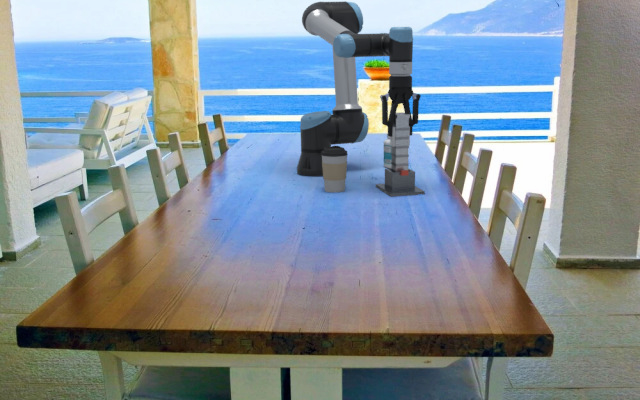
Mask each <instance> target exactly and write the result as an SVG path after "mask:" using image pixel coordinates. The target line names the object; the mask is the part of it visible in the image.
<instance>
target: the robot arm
mask: <svg viewBox="0 0 640 400" xmlns="http://www.w3.org/2000/svg"><path fill="white" fill-rule="evenodd" d="M361 9H362V8H360V6H359V5H358V4H357V3H356V2H352V1H317V2H313V3H311V4H310V5H309V6H307V7H306V9H305V10H304V11H303V13H302V17H301V23H302V26H303V28H304V30H305V31H306V32H307V33H309V34H310V35H313V36H315V37H316V36H318V37H320V38H321V39H322V40H323V41H325V42H327V43H328V44H330V45H331V46H332V61H333V75H334V76H333V77H334V79H333V80H334V91H335V106H334V107H333V108H332V112H330V111H327V110H320V111H313V112H308V113H306V114H304V115H302V116H301V117H300V125H299V128H300V149H301V150H300V157H299V159H298V163H297V165H296V174H298V175H300V176H309V177H319V176H320V177H323V168H322V155H321V154H322V153H321V152H322V151H324V148H327V147H332V146H335V145H344V144H345V145H346V144H355V143H360V142H361V143H362V142H363V141H364V140H365V139H366V137H367V136H368V133H369V129H370V127H369V126H370V122H369V117H368V115H367V113H365V112H363V107H362V106H360V105H359V100H358V99H359V98H358V84H357V83H358V82H357V79H358V78H357V67H356V66H357V64H356V63H357V62H356V58H364V57H365V58H367V57H368V58H369V57H373V58H374V57H389V61H388V63H389V65H388V66H389V67H388V68H389V69H388V73H389V75H390V76H389V77H388V78H389V79H388V91H387V93H386V94H381V95H380V96H379V98H380V100H381V114H382V115H381V123H382V125H384V126H386V127H387V134H388V136H389V137H390V146H392V147H395V127H393V124H394V119H395V114H396V113H397V108H398V106H399V105H400V104H402V106H403V110H404V111H403V112H404V113H406V114H410V118H409V142H408V146H409V147H410V146H411V145H410V143H411V141H410V140H411V136H413V127H414V126H415V125H417V124H419V110H420V109H419V105H420V104H419V102H420V99H421V97H422V96H421V94H420V93H415V92H414V90H413V76H412V74H413V54H414V53H413V50H414V49H413V48H414V47H413V45H414V44H413V43H414V37H413V36H414V35H413V33H414V32H413V28H412V27H410V26H393V27H392V26H391V27H390V29H389V33H387V32H384V33H383V32H380V33H361V32H362V30H363V28H364V27H363V25H364V15H363V13H362V10H361ZM389 98H390V100H391V104H390V109H389V107H388V106H389V103H388V101H389ZM411 99H412V111H411V107H410V100H411ZM389 110H390V111H389Z"/></svg>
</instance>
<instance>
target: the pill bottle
mask: <svg viewBox="0 0 640 400" xmlns="http://www.w3.org/2000/svg"><path fill="white" fill-rule="evenodd" d="M386 137H387V138H386V139H384V140H383V167H384V168H385V169H391V162H392V155H391V153H392V147H391V146H390V137H389V136H388V133H387V134H386Z"/></svg>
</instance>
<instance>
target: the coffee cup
mask: <svg viewBox="0 0 640 400" xmlns="http://www.w3.org/2000/svg"><path fill="white" fill-rule="evenodd" d="M321 153H322V154H321V155H322V168H323V176H322V178H323V181H324V182H323V184H324V192H327V193H342V192H346V179H347V173H348V172H347V171H348V169H347V168H348V151H347V150H346V149H345V147H342V146H340V145H331V147H327V148H324V151H322V152H321Z"/></svg>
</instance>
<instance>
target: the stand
mask: <svg viewBox="0 0 640 400" xmlns="http://www.w3.org/2000/svg"><path fill="white" fill-rule="evenodd" d="M375 188H377V189H379V191H381V192H383V193H384V194H386V195H387V196H389V197H407V196H418V194H422V195H425V194H426V191H425V190H423V189H421V188H419V187H417V186H416V171H415V170H413V169H410V168H409V167H408V170H400V172H392V171H391V168H384V183H375Z"/></svg>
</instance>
